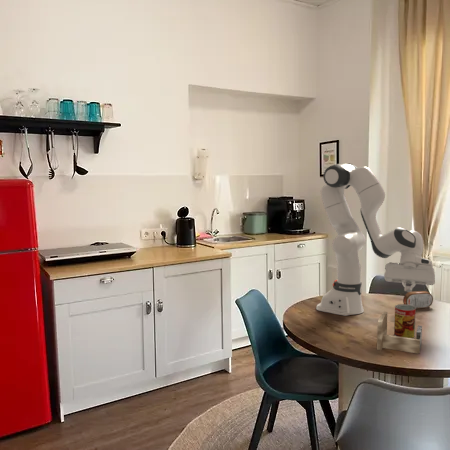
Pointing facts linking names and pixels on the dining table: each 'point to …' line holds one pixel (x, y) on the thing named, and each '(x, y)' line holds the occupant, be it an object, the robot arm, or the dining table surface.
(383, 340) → the shelf wall
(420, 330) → the bookend
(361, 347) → the dining table surface
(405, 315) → the canned food
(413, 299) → the tin
